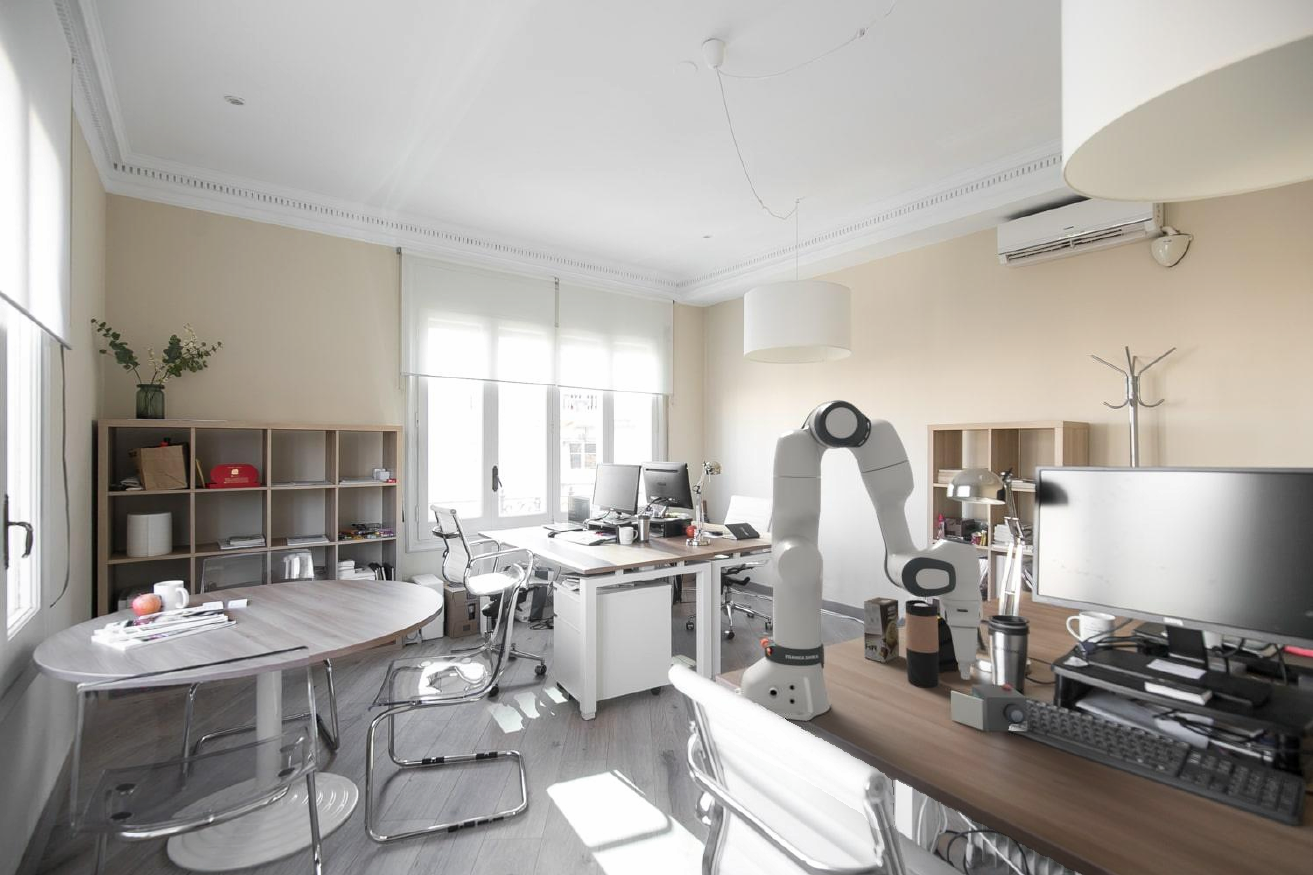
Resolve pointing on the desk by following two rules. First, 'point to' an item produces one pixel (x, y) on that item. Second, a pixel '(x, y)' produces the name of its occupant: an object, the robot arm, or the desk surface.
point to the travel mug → (922, 643)
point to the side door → (969, 710)
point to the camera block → (1001, 705)
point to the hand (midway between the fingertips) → (964, 671)
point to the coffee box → (881, 629)
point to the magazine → (946, 648)
